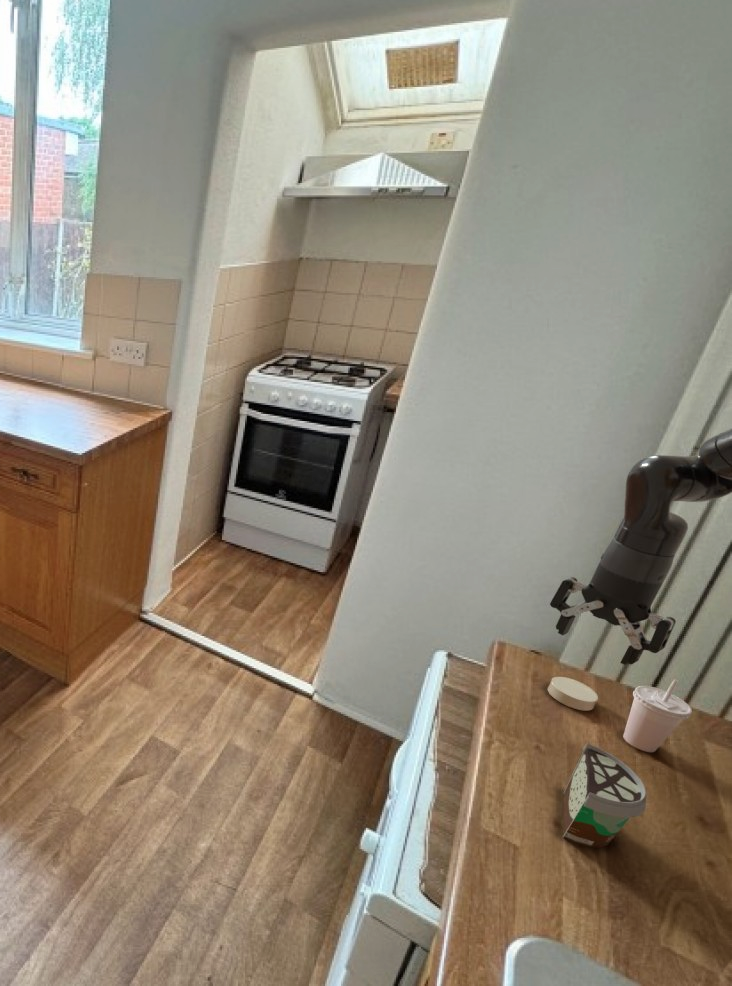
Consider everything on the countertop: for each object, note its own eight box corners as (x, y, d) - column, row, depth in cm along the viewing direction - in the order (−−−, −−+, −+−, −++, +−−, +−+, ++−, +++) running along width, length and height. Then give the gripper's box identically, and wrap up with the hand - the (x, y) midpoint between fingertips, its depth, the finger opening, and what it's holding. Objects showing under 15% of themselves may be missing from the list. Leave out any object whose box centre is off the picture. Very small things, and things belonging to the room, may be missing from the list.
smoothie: (616, 748, 99) (652, 681, 94) (607, 723, 104) (641, 658, 99) (671, 767, 95) (712, 699, 90) (659, 740, 100) (697, 674, 95)
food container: (624, 878, 79) (656, 825, 75) (561, 846, 83) (589, 795, 79) (618, 815, 88) (647, 764, 84) (562, 789, 91) (587, 740, 88)
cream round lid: (599, 706, 107) (604, 695, 107) (582, 717, 105) (588, 706, 104) (556, 683, 113) (561, 672, 112) (539, 693, 110) (544, 682, 109)
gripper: (703, 586, 94) (657, 667, 100) (587, 543, 106) (553, 618, 112) (683, 598, 91) (637, 681, 97) (566, 553, 103) (532, 629, 109)
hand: (592, 647), depth 105 cm, fingers open, 8 cm apart
